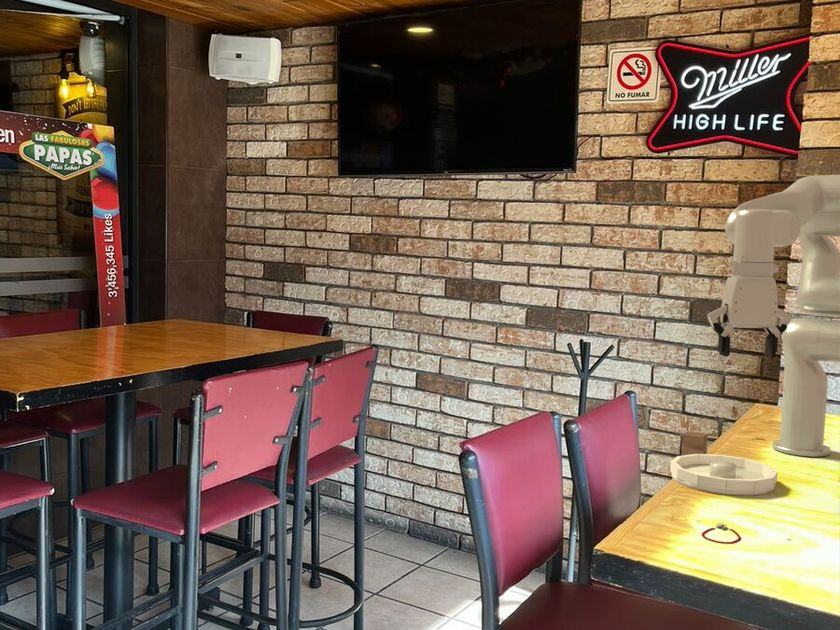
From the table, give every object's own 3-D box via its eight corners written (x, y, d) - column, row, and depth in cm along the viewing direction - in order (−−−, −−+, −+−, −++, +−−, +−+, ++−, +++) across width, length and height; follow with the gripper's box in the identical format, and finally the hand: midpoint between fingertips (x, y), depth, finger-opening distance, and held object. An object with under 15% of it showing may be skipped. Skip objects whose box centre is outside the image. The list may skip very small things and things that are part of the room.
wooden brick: (686, 456, 192) (688, 430, 191) (706, 459, 190) (707, 433, 189) (681, 460, 188) (683, 434, 188) (701, 463, 186) (703, 437, 185)
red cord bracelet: (709, 525, 145) (709, 520, 145) (745, 532, 142) (746, 527, 142) (697, 540, 138) (698, 534, 137) (736, 548, 135) (736, 542, 134)
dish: (685, 462, 186) (685, 447, 186) (782, 478, 176) (783, 461, 175) (660, 483, 169) (661, 466, 169) (765, 502, 159) (767, 483, 158)
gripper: (783, 271, 172) (778, 354, 174) (702, 269, 171) (697, 352, 172) (803, 273, 165) (797, 359, 166) (719, 271, 163) (714, 358, 165)
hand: (747, 356), depth 169 cm, fingers open, 9 cm apart
